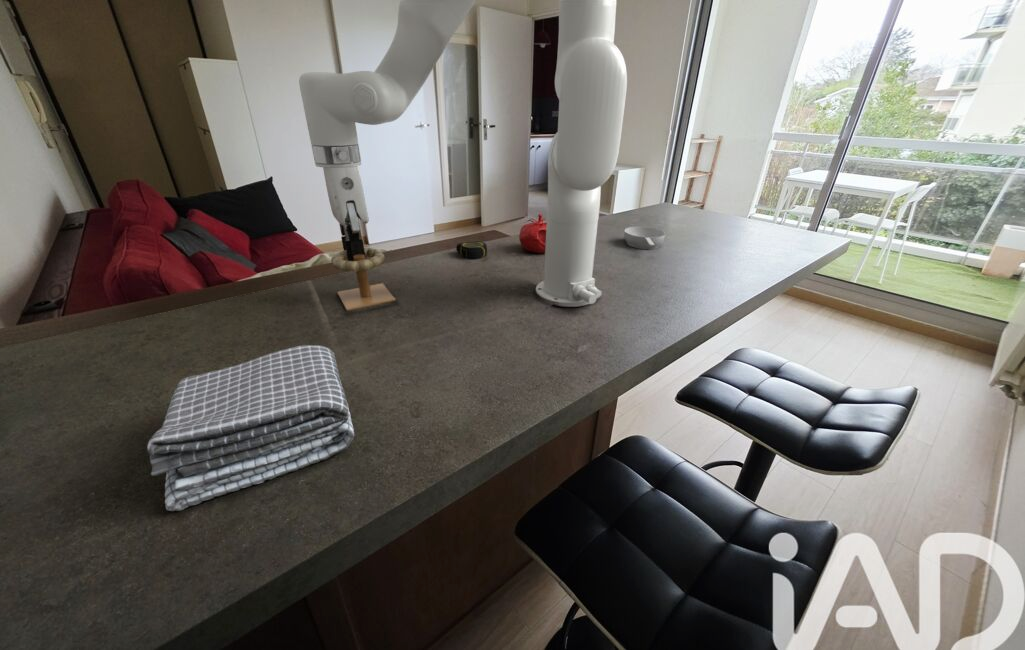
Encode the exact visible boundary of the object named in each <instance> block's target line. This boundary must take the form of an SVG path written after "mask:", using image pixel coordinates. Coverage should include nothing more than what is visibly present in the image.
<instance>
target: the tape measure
mask: <svg viewBox="0 0 1025 650" xmlns="http://www.w3.org/2000/svg"><path fill="white" fill-rule="evenodd" d="M455 249H456V250H455V251H456V253H457V254H458V255H459V256H461V258H463V259H466V260H479V259H483V258H485V257H487V256H488V245H487V243H486V242H484V241H477V240H474V241H473V240H472V241H465V242H459V243H457V244H456V246H455Z"/></svg>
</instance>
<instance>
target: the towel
mask: <svg viewBox="0 0 1025 650" xmlns="http://www.w3.org/2000/svg"><path fill="white" fill-rule="evenodd" d="M335 354H336V353H335V352H334V351H333V350H332V349H331V348H329V347H327V346H325V345H317V344H316V345H315V344H314V345H313V344H310V345H306V344H303V345H297V346H292V347H290V348H284V349H281V350H277V351H274V352H271V353H267V354H264V355H261V356H259V357H256V358H252V359H251V360H248V361H244V362H242V363H239V364H235V365H231V366H228V367H223V368H221V369H217V370H211V371H209V372H204V373H203V372H202V373H200V374H193V375H190V376H187V377H184V378H182V379H180V380H179V381H178V382H177V385H176V386H175V389H174V391H173V395H172V397H171V399H170V401H169V405H168V407H167V410H166V414H165V416H164V420H163V422H162V425H161V427H160V428H159V429H157V430H156V432H154V434H153V435H152V436H151V437H150V438H149V439H148V443H147V445H146V450H147V452H148V454H149V463H150V464H151V472H150V475H151V476H153V477H158V476H162V475H164V474H166V475H165V483H164V490H165V491H164V498H165V500H164V504H165V505H164V506H165V510H166V511H169V512H175V511H176V512H180V511H183V510H185V509H187V508H189V507H191V506H196V505H199V504H201V503H202V502H204V501H209V500H211V499H214V498H216V497H221V496H222V495H223V496H224V495H226V494H228V493H232V492H233V493H234V492H236V491H240V490H241V489H245V488H249V487H251V486H253V485H259V484H262V483H264V482H265V481H268V480H272V479H275V478H278V477H280V476H284V475H287V474H288V473H291V472H296V471H298V470H300V469H303V468H306V467H308V466H310V465H313V464H316V463H319V462H321V461H325V460H327V459H329V458H331V457H332V456H334V455H335V454H338V453H341V452H342V451H344V450H345V449H347V448H348V447H349V446H350V445H351V443H352V441H354V438H355V432H354V431H355V428H354V425H353V423H352V421H353V420H352V416H351V412H350V409H349V404H348V400H347V397H346V391H345V389H344V386H343V385H342V381H341V379H340V371H339V368H338V364H337V360H336V356H335Z"/></svg>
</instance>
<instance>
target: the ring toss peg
mask: <svg viewBox="0 0 1025 650" xmlns="http://www.w3.org/2000/svg"><path fill="white" fill-rule="evenodd" d="M353 258H354V261H361V260H366V258H365V255H363V254H357V255H354V256H353ZM355 273H356V274H355V275H356V279H357V286H358V287H356V288H351V289H345V290H340V291H337V295H338V298H339V300H340V301H341V303H342V304H343V306H344V308H345V310H346V312H349V311H353V310H358V309H362V308H367V307H372V306H376V305H382V304H387V303H390V302H396V298H395V297H394V295H393V294H392V293H391V292H390V290H389V289H388V288H387V287H386V286H385V284H384V283H383V282H382V283H376V284H371V285H370V280H369V273H368V270H363V271H355Z"/></svg>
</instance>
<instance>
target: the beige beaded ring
mask: <svg viewBox="0 0 1025 650" xmlns="http://www.w3.org/2000/svg"><path fill="white" fill-rule="evenodd" d="M364 251H365V257H366V259H365V260H361V261H348V258H347V253H346V250H344V249H343V250H341V251H339V252H336V253H335V254H334V255H333V256H332V257H331V260H330V261H331V264H332V265H333V267H334V268H335V269H336V270H340V271H344V272H356V271H363V270H367V271H368V270H372V269H375V268H378V267H379V266H381V265H382V264H383V262H384V261H385V259H386V257H385V254H384V253H383V252H382V251H381V250H380V249H378V248H373V247H364Z"/></svg>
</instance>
